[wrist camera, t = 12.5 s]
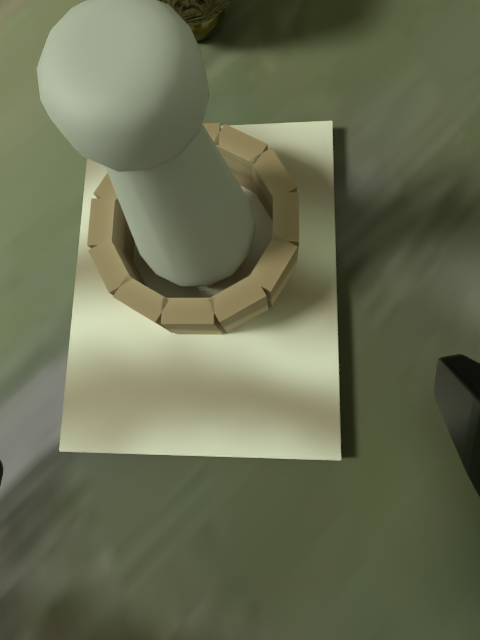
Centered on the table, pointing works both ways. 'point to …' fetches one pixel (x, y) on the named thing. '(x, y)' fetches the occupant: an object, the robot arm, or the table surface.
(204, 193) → the salt shaker
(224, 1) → the cup
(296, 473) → the table surface
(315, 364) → the socket
